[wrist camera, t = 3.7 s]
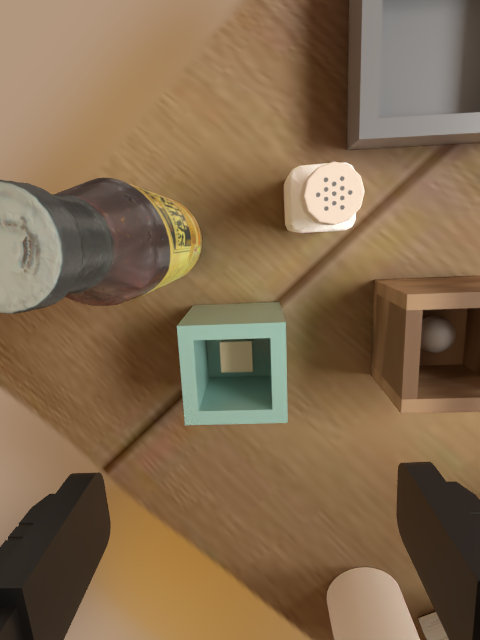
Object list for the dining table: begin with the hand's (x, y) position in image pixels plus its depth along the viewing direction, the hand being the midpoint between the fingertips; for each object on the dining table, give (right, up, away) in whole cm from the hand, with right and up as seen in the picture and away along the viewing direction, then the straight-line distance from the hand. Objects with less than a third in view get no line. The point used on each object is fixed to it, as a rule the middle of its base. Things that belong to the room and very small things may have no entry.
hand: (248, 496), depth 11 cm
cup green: (0, +3, +22) cm, 22 cm away
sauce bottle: (-6, +11, +21) cm, 24 cm away
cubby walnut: (+15, +4, +21) cm, 26 cm away
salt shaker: (+5, +14, +20) cm, 24 cm away
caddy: (+13, +23, +17) cm, 31 cm away
